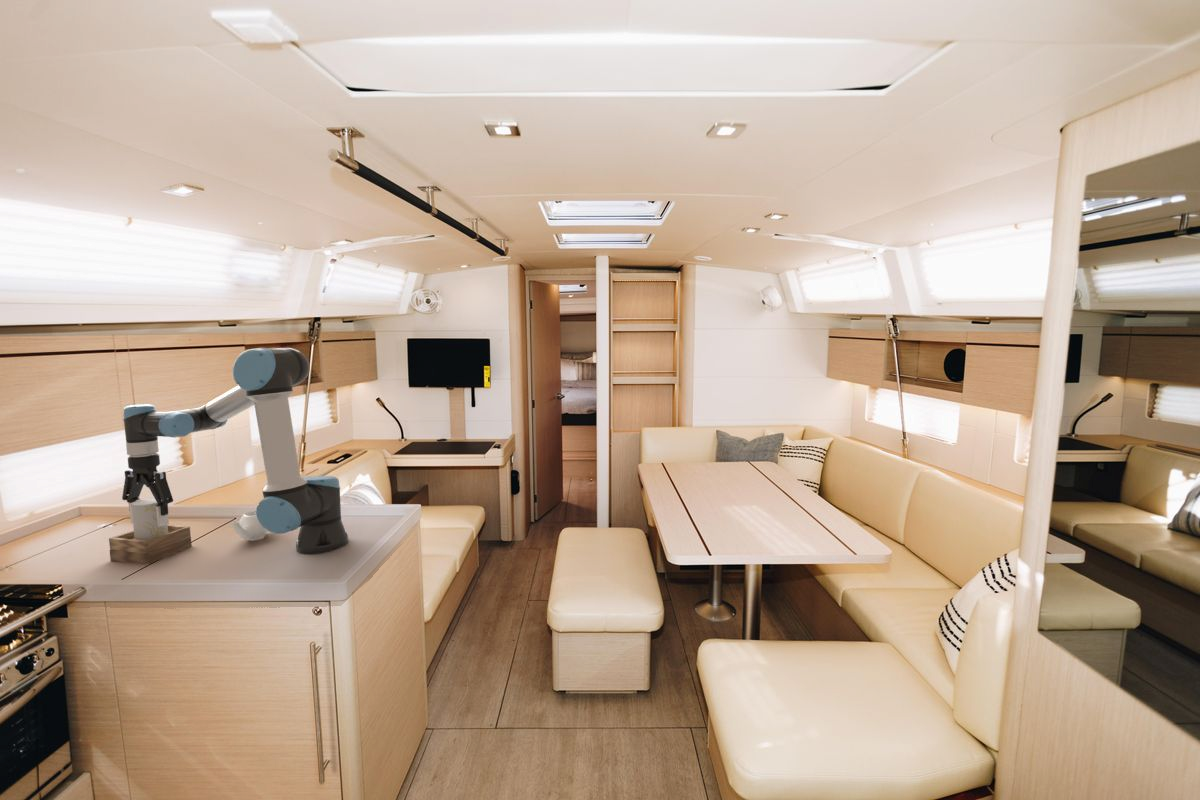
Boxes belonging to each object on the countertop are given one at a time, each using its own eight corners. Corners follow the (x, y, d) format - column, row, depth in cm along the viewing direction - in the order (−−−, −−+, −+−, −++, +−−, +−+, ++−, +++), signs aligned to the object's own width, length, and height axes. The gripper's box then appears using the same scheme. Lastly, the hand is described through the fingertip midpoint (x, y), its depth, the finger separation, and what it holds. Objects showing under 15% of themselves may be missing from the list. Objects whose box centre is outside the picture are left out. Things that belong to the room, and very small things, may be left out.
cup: (148, 544, 164) (145, 505, 163) (127, 542, 166) (124, 504, 165) (174, 535, 172) (171, 498, 171) (154, 533, 174) (151, 497, 173)
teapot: (288, 529, 192) (286, 504, 191) (249, 551, 172) (247, 523, 171) (262, 529, 192) (260, 503, 191) (220, 550, 172) (218, 522, 171)
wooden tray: (190, 537, 175) (189, 526, 174) (145, 553, 161) (144, 542, 161) (156, 533, 178) (155, 523, 177) (109, 549, 164) (108, 538, 164)
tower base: (191, 546, 176) (190, 536, 175) (149, 564, 162) (148, 552, 162) (155, 544, 178) (154, 534, 177) (110, 561, 164) (109, 550, 164)
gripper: (184, 454, 167) (189, 522, 169) (129, 450, 173) (135, 516, 175) (158, 459, 160) (165, 530, 162) (102, 454, 166) (109, 524, 168)
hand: (149, 523), depth 169 cm, fingers open, 10 cm apart
